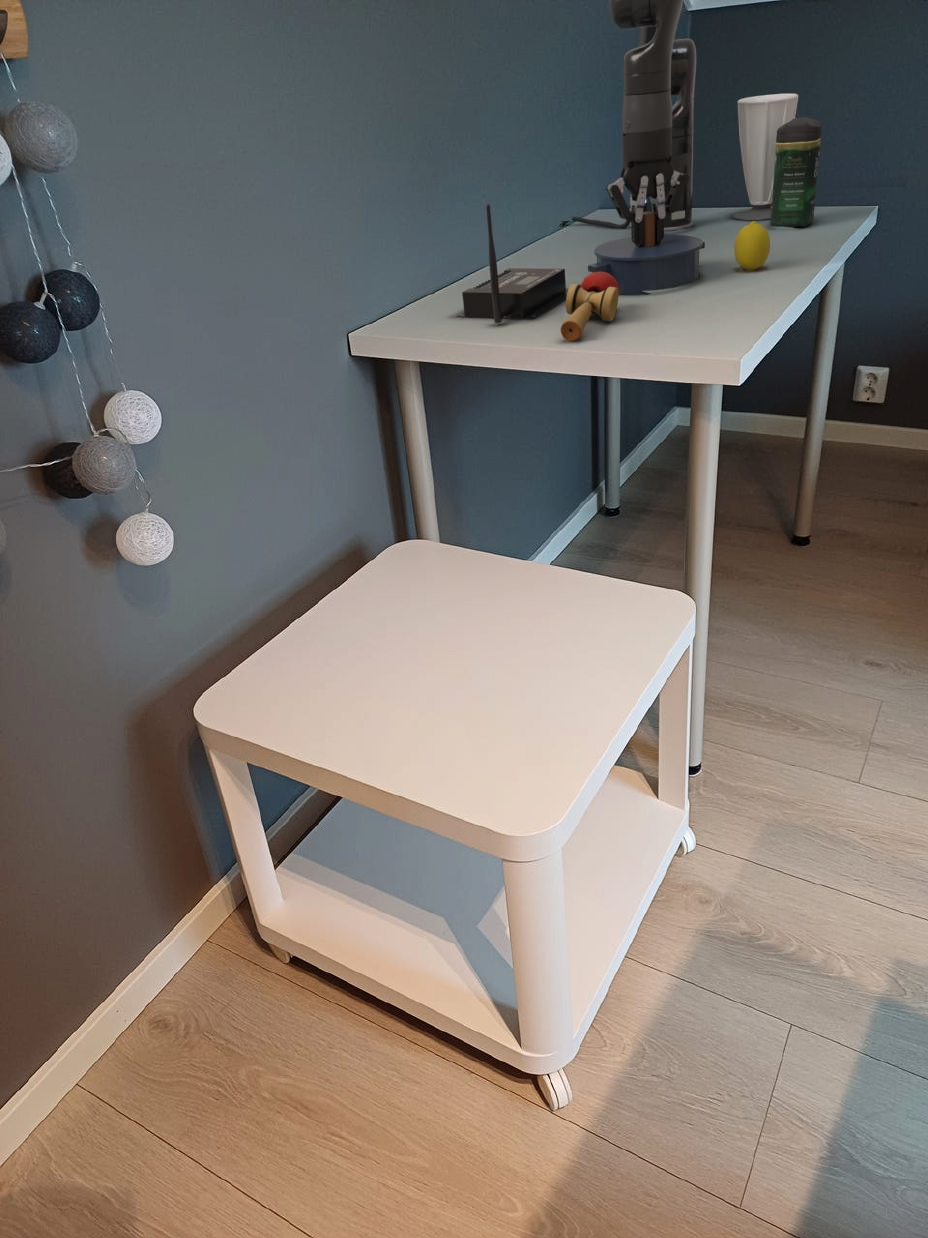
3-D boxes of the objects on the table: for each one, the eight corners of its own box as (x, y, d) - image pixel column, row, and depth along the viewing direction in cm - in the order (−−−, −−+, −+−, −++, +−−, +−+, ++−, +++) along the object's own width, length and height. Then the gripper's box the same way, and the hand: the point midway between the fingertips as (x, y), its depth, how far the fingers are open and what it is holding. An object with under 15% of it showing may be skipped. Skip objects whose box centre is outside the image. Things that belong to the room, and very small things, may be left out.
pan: (565, 287, 159) (563, 255, 157) (669, 263, 167) (669, 231, 164) (622, 303, 147) (622, 268, 144) (732, 276, 154) (733, 241, 151)
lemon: (728, 271, 157) (730, 220, 153) (761, 267, 157) (764, 216, 153) (739, 278, 152) (742, 225, 148) (773, 274, 152) (776, 221, 148)
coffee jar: (809, 228, 179) (819, 119, 169) (766, 229, 182) (773, 122, 173) (816, 218, 186) (826, 113, 177) (775, 220, 190) (782, 116, 180)
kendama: (604, 350, 131) (633, 298, 144) (593, 306, 128) (624, 257, 140) (552, 359, 135) (585, 307, 147) (540, 317, 131) (575, 268, 144)
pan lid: (574, 255, 158) (572, 217, 155) (658, 237, 164) (658, 199, 161) (636, 269, 145) (636, 227, 141) (725, 248, 151) (727, 207, 147)
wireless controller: (501, 291, 162) (492, 183, 153) (575, 292, 156) (570, 179, 147) (442, 323, 148) (428, 206, 139) (522, 326, 141) (513, 203, 132)
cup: (759, 222, 189) (765, 100, 178) (720, 217, 198) (724, 100, 187) (802, 212, 193) (811, 92, 182) (763, 207, 202) (769, 93, 191)
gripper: (679, 118, 149) (677, 234, 158) (595, 130, 147) (599, 247, 156) (700, 120, 143) (697, 241, 152) (613, 133, 141) (615, 254, 150)
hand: (647, 244), depth 154 cm, fingers closed on pan lid, 2 cm apart
